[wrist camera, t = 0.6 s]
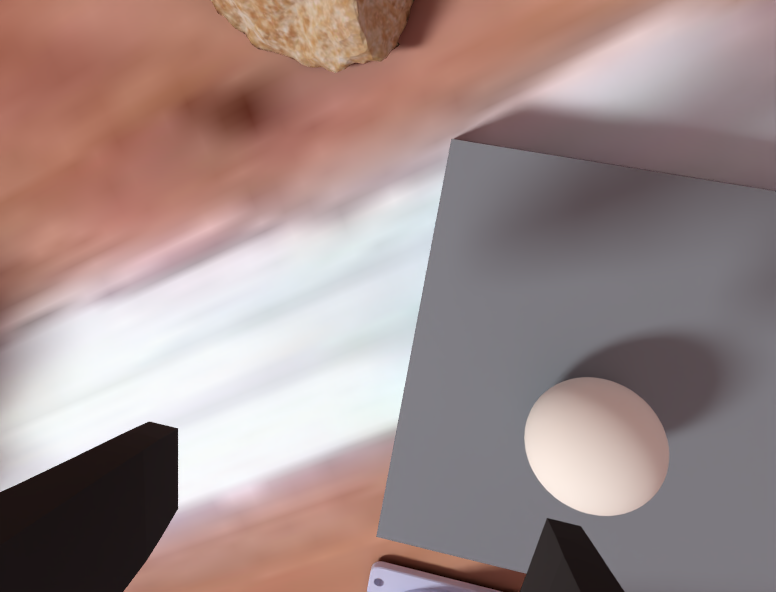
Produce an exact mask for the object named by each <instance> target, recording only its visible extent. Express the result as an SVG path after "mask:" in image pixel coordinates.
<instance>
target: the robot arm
mask: <svg viewBox="0 0 776 592" xmlns="http://www.w3.org/2000/svg"><path fill="white" fill-rule="evenodd" d="M177 510H178V428H174V427H170V426H165V425H161V424H157V423H153V422H147V423H145V424H143V425H141V426H138V427H136V428H134V429H132V430H130V431H127V432H125V433H123V434H121V435H119V436H117V437H115V438H113V439H111V440H109V441H107V442H105V443H103V444H101V445H98V446H96V447H94V448H92V449H90V450H88V451H86V452H84V453H82V454H80V455H78V456H76V457H74V458H72V459H70V460H68V461H66V462H63V463H61V464H59V465H57V466H55V467H53V468H51V469H49V470H47V471H45V472H43V473H41V474H38V475H36V476H34V477H32V478H30V479H28V480H26V481H24V482H22V483H20V484H17V485H15V486H13V487H11V488H8V489H6V490H4V491H2V492H0V592H123V591H124V590H125V588H126V587H127V586H128V585H129V583H130V582H131V581H132V579H133V578H134V577H135V575H136V574H137V573H138V571H139V570H140V569H141V567H142V566H143V565H144V563H145V562H146V561H147V559H148V557H149V556H150V554H151V553H152V551H153V549H154V548H155V546H156V545H157V543H158V541H159V540H160V538H161V537H162V535H163V533H164V532H165V530H166V528H167V527H168V525H169V523H170V521H171V520H172V518H173V516H174V515H175V513H176V511H177ZM378 578H379V579H378ZM367 592H502V591H498V590H494V589H490V588H486V587H482V586H478V585H474V584H470V583H466V582H462V581H458V580H454V579H450V578H446V577H442V576H438V575H434V574H430V573H426V572H422V571H418V570H414V569H410V568H406V567H402V566H399V565H395V564H391V563H387V562H382V561H378V562H375V563H374V564H373V565H372V568H371V572H370V578H369V583H368V588H367ZM520 592H624V590H623V589H622V587H621V586H620V584H619V583H618V581H617V580H616V578H615V577H614V575H613V574H612V572H611V570H610V569H609V567H608V566H607V564H606V563H605V561H604V560H603V558H602V557H601V555H600V554H599V552H598V551H597V549H596V548H595V546H594V545H593V543H592V542H591V540H590V539H589V537H588V536H587V534H586V533H585V531H584V530H583V528H582V527H581V526H579V525H574V524H570V523H566V522H562V521H558V520H554V519H550V518H547V519H546V522H545V524H544V527H543V530H542V533H541V535H540V538H539V541H538V544H537V546H536V549H535V552H534V555H533V557H532V560H531V563H530V565H529V568H528V571H527V574H526V576H525V579H524V582H523V585H522V587H521V590H520Z"/></svg>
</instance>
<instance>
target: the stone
mask: <svg viewBox="0 0 776 592" xmlns="http://www.w3.org/2000/svg"><path fill="white" fill-rule="evenodd" d="M211 1H212V3H213V4H214V6H215V8H216V10H217V12H218V14H220V15H222V16H224V17H225V18H226V19H227V20H228V21H229V22H230V23H231V25H232V26H233V27H234V28H236V29H238V30H239V31H241V32H243V33H244V34H246V36H247V37H248V39H249V40H250V42H251V43H252V45H254V46H255V47H257V48H258V49H262V50H266V51H270V52H274V53H278V54H282V55H285V56H287V57H290V58H292V59H294V60H296V61H298V62H299V63H300V64H302V65H305V66H308V67H323V68H325V69H326V70H328V71H331V72H335V73H336V72H339V71H341V70H344V69H346V68H347V67H348V66H349V65H350V64H353V63H355V62H356V63H362V64H364V63H367V62H370V61H380V62H381V61H382V60H384V59H386V58H387V56H388V55H389V53H390V51H392V50H393V49H395V48H396V47H398V46H399V43H398V40H399V36H400V35H401V33H402V32H403V30H404V28H405V26H406V24H407V21H408V19H409V14H410V7H411V5H412V3H413V1H414V0H211Z"/></svg>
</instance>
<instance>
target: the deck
mask: <svg viewBox="0 0 776 592" xmlns="http://www.w3.org/2000/svg"><path fill="white" fill-rule="evenodd" d="M581 377H594V378H601V379H606V380H610V381H613V382H615V383H618V384H620V385H623V386H625V387H626V388H628V389H630V390H632V391H633V392H634V393H636V394H637V395H638V396H640V397H641V398H642V399H643V400H644V401H645V402H646V403H647V404H648V405H649V406H650V407H651V408H652V410H653V411H654V412H655V414H656V415H657V417H658V418H659V420H660V422H661V424H662V426H663V428H664V431H665V434H666V437H667V440H668V446H669V464H668V470H667V474H666V477H665V480H664V482H663V484H662V485H661V487H660V489H659V490H658V492H657V493H656V494H655V495H654V496H653V497H652V498H651V499H650V500H649V501H648V502H647V503H645V504H644V505H643V506H641V507H639V508H638V509H636V510H633V511H631V512H628V513H625V514H621V515H614V516H598V515H592V514H587V513H584V512H580V511H578V510H575V509H573V508H571V507H569V506H567V505H565V504H564V503H562V502H560V501H559V500H558V499H556V498H555V497H554V496H553V495H552V494H550V493H549V492H548V491H547V490H546V489H545V487H544V486H543V485H542V484H541V483H540V481H539V480H538V479H537V477H536V475H535V474H534V472H533V470H532V468H531V466H530V463H529V461H528V458H527V454H526V450H525V440H524V435H525V426H526V421H527V418H528V416H529V413H530V411H531V409H532V407H533V405H534V404H535V402H536V401H537V400H538V399H539V397H540V396H541V395H542V394H543V393H545V392H546V391H547V390H548V389H550V388H551V387H553V386H555V385H556V384H558V383H561V382H563V381H566V380H569V379H574V378H581ZM547 518H550V519H554V520H558V521H562V522H566V523H570V524H574V525H579V526H581V527H582V528H583V530H584V531H585V533H586V534H587V536H588V537H589V539H590V540H591V542H592V543H593V545H594V546H595V548H596V549H597V551H598V552H599V554H600V555H601V557H602V558H603V560H604V561H605V563H606V564H607V566H608V567H609V569H610V570H611V572H612V574H613V575H614V577H615V578H616V580H617V581H618V583H619V584H620V586H621V587H622V589H623V590H624V592H776V191H773V190H767V189H761V188H754V187H748V186H742V185H736V184H730V183H723V182H717V181H711V180H705V179H699V178H692V177H686V176H680V175H674V174H667V173H661V172H655V171H649V170H643V169H636V168H630V167H624V166H618V165H612V164H605V163H599V162H593V161H587V160H581V159H574V158H568V157H562V156H556V155H550V154H543V153H537V152H531V151H525V150H519V149H512V148H506V147H500V146H494V145H487V144H481V143H475V142H469V141H463V140H456V139H451V144H450V150H449V155H448V160H447V166H446V171H445V176H444V181H443V187H442V192H441V197H440V203H439V208H438V213H437V219H436V224H435V229H434V234H433V240H432V245H431V250H430V256H429V261H428V266H427V271H426V277H425V282H424V287H423V293H422V298H421V303H420V309H419V314H418V319H417V324H416V330H415V335H414V340H413V346H412V351H411V356H410V362H409V367H408V372H407V377H406V383H405V388H404V393H403V399H402V404H401V409H400V415H399V420H398V425H397V430H396V436H395V441H394V446H393V452H392V457H391V462H390V468H389V473H388V478H387V483H386V489H385V494H384V499H383V505H382V510H381V515H380V521H379V526H378V531H377V536H376V537H380V538H384V539H388V540H392V541H396V542H400V543H404V544H408V545H412V546H416V547H420V548H424V549H428V550H432V551H436V552H441V553H445V554H449V555H453V556H457V557H461V558H465V559H469V560H473V561H477V562H481V563H485V564H489V565H493V566H497V567H501V568H505V569H509V570H513V571H517V572H522V573H526V574H527V571H528V568H529V565H530V563H531V560H532V557H533V555H534V552H535V549H536V546H537V544H538V541H539V538H540V535H541V533H542V530H543V527H544V524H545V522H546V519H547Z"/></svg>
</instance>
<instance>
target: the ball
mask: <svg viewBox="0 0 776 592" xmlns="http://www.w3.org/2000/svg"><path fill="white" fill-rule="evenodd" d="M524 440H525V450H526V454H527V458H528V461H529V463H530V466H531V468H532V470H533V472H534V474H535V475H536V477H537V479H538V480H539V481H540V483H541V484H542V485H543V486H544V487H545V489H546V490H547V491H548V492H549V493H550V494H552V495H553V496H554V497H555V498H556V499H558V500H559V501H560V502H562V503H564V504H565V505H567V506H569V507H571V508H573V509H575V510H578V511H580V512H584V513H587V514H592V515H598V516H614V515H621V514H625V513H628V512H631V511H633V510H636V509H638V508H639V507H641V506H643V505H644V504H645V503H647V502H648V501H649V500H650V499H651V498H652V497H653V496H654V495H655V494H656V493H657V492H658V490H659V489H660V487H661V485H662V484H663V482H664V480H665V477H666V474H667V470H668V464H669V446H668V440H667V437H666V434H665V431H664V428H663V426H662V424H661V422H660V420H659V418H658V417H657V415H656V414H655V412H654V411H653V410H652V408H651V407H650V406H649V405H648V404H647V403H646V402H645V401H644V400H643V399H642V398H641V397H640V396H638V395H637V394H636V393H634V392H633V391H632V390H630V389H628V388H626V387H625V386H623V385H620V384H618V383H615V382H613V381H610V380H606V379H601V378H594V377H581V378H574V379H569V380H566V381H563V382H561V383H558V384H556V385H555V386H553V387H551V388H550V389H548V390H547V391H546V392H545V393H543V394H542V395H541V396H540V397H539V399H538V400H537V401H536V402H535V404H534V405H533V407H532V409H531V411H530V413H529V416H528V418H527V421H526V426H525V435H524Z"/></svg>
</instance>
